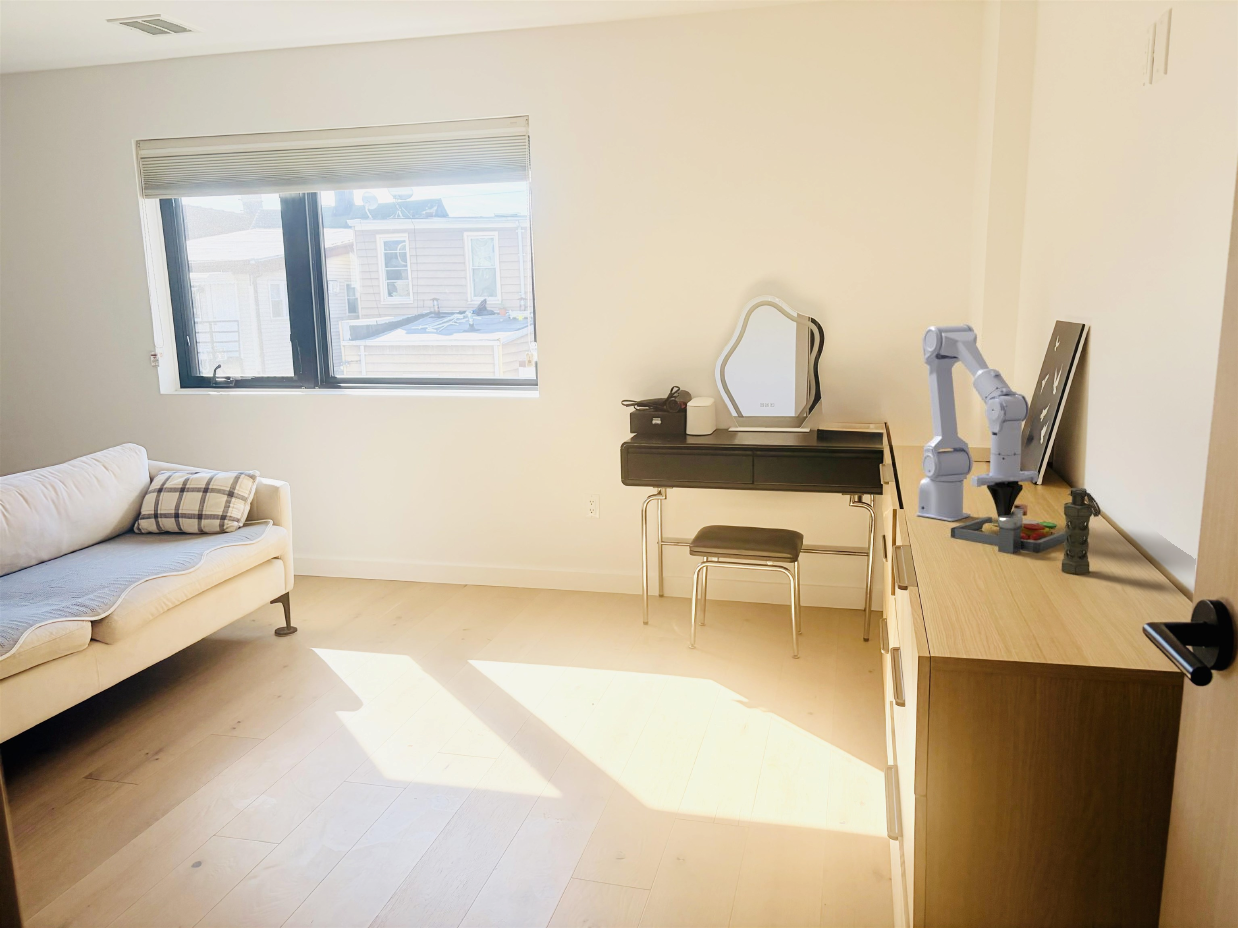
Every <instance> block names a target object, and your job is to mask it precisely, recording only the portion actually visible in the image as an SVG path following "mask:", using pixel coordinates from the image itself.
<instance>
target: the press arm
mask: <svg viewBox="0 0 1238 928" xmlns="http://www.w3.org/2000/svg"><path fill="white" fill-rule="evenodd" d="M1025 516H1028V504H1025V503H1014V505H1013V509H1012V511H1011V513H1010V515H1002V516H999V517H998V516H997V523H998V527H1000V528H1004V529H1021V528H1022V527H1023V519H1024V518H1023V517H1025Z"/></svg>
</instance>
